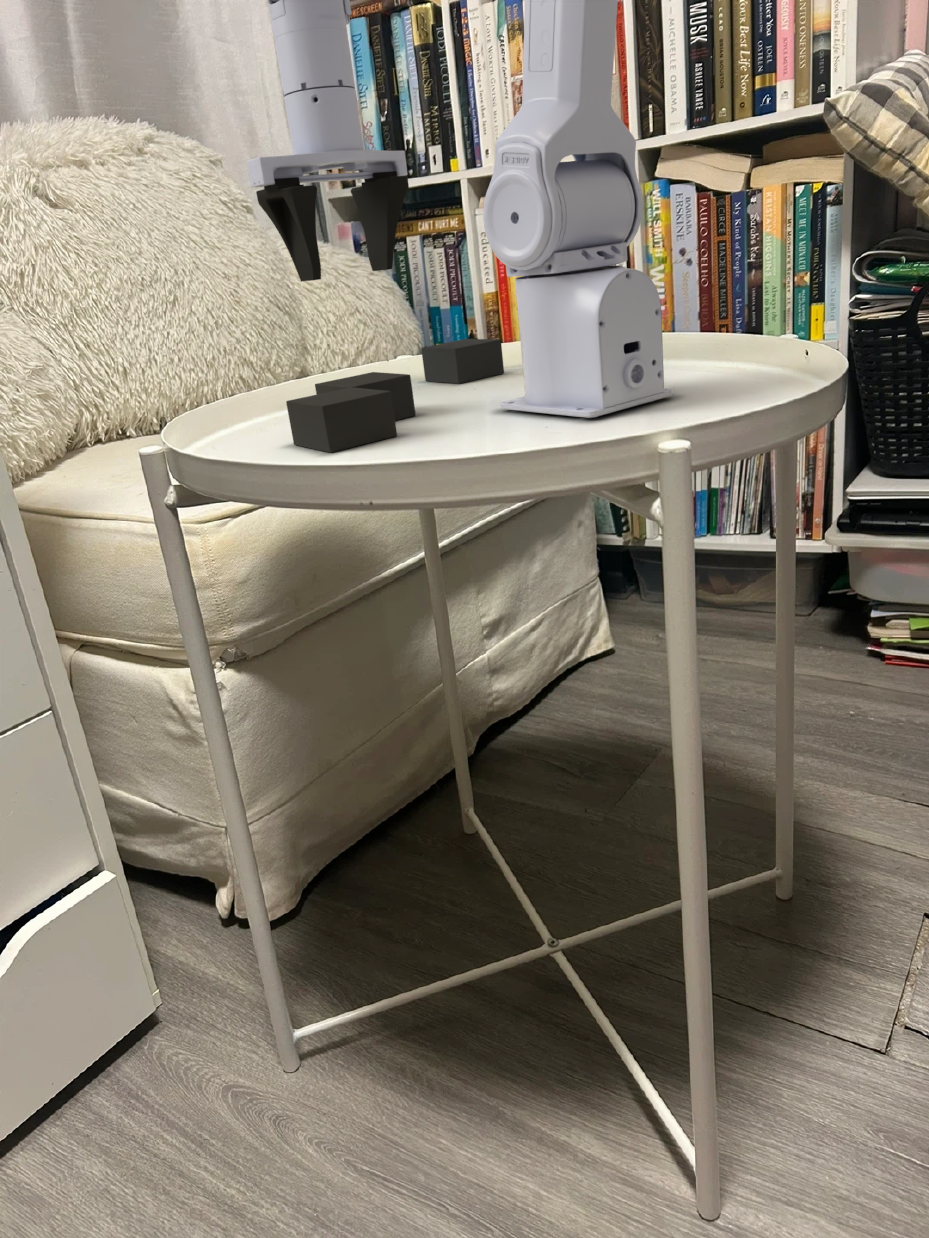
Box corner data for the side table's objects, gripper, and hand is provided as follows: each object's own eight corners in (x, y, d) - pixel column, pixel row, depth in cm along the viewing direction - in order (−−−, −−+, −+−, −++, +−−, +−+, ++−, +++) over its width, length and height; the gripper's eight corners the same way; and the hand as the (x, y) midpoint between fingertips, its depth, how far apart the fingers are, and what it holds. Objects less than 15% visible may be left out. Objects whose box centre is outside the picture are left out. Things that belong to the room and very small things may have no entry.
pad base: (504, 373, 85) (501, 339, 84) (459, 384, 82) (454, 348, 81) (469, 371, 89) (465, 338, 88) (425, 381, 86) (420, 347, 85)
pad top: (416, 415, 70) (410, 374, 68) (356, 430, 67) (349, 387, 66) (379, 410, 74) (373, 371, 72) (321, 424, 71) (314, 384, 70)
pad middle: (397, 436, 63) (391, 390, 62) (330, 453, 60) (322, 406, 59) (358, 429, 67) (351, 387, 66) (293, 445, 64) (285, 401, 63)
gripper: (361, 103, 82) (384, 268, 87) (214, 104, 73) (249, 288, 78) (413, 87, 77) (434, 263, 82) (262, 85, 68) (297, 283, 73)
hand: (347, 275), depth 80 cm, fingers open, 7 cm apart
